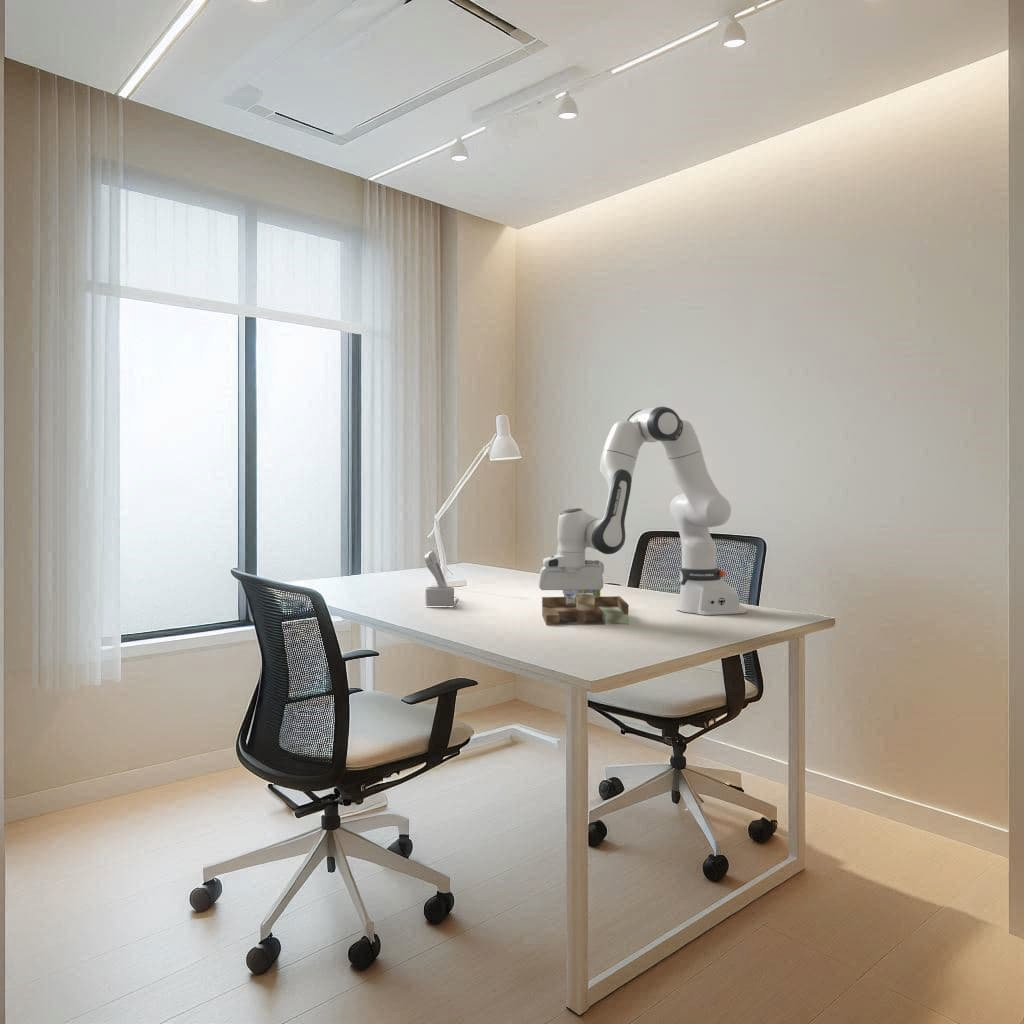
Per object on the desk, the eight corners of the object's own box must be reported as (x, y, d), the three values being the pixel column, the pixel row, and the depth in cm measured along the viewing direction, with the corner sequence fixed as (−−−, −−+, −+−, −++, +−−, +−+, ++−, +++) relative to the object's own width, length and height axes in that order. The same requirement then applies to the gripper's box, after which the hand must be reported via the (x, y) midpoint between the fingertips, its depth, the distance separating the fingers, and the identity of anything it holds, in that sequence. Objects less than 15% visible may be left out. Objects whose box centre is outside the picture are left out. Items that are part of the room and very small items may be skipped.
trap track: (619, 614, 249) (619, 596, 249) (628, 624, 234) (628, 604, 234) (542, 615, 248) (542, 597, 248) (546, 625, 233) (546, 605, 233)
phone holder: (453, 607, 262) (453, 555, 261) (424, 607, 262) (423, 555, 261) (458, 598, 280) (458, 549, 278) (430, 598, 280) (430, 549, 279)
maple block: (592, 607, 246) (592, 593, 246) (594, 610, 241) (594, 595, 241) (576, 607, 246) (576, 593, 246) (578, 610, 241) (578, 596, 241)
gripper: (602, 559, 246) (602, 602, 247) (538, 559, 245) (538, 602, 246) (605, 561, 240) (605, 605, 241) (539, 561, 239) (539, 606, 240)
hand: (570, 604), depth 243 cm, fingers closed
